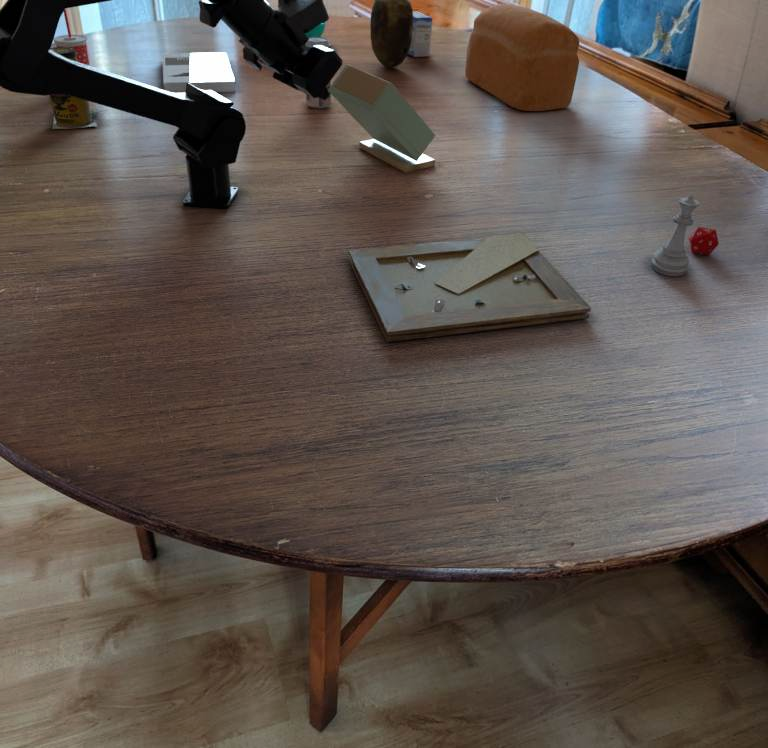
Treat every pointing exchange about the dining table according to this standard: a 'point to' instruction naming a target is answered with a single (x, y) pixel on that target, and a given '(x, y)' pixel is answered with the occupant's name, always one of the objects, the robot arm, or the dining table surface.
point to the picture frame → (463, 287)
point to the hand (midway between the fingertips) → (326, 96)
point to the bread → (523, 58)
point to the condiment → (71, 103)
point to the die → (703, 241)
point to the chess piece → (676, 242)
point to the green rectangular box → (382, 111)
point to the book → (197, 72)
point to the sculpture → (391, 31)
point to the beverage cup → (74, 43)
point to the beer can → (320, 102)
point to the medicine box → (420, 35)
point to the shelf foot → (396, 156)
